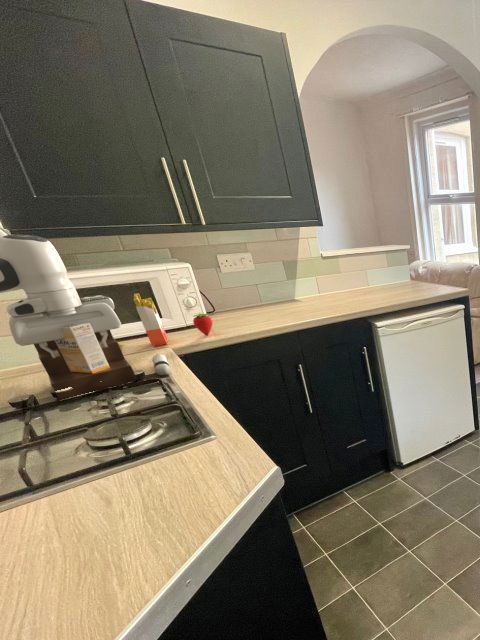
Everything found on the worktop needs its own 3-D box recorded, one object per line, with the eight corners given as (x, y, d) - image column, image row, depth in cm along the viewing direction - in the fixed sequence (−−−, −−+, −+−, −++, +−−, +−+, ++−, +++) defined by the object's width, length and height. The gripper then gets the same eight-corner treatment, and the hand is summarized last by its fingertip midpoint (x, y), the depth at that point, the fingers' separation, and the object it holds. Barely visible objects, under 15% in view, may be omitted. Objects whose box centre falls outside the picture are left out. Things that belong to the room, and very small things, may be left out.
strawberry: (214, 331, 165) (206, 306, 161) (218, 335, 160) (209, 309, 156) (196, 335, 162) (187, 309, 158) (200, 338, 156) (190, 312, 152)
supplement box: (69, 372, 114) (45, 326, 109) (89, 366, 118) (67, 321, 113) (91, 374, 112) (68, 327, 107) (111, 367, 116) (89, 321, 111)
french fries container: (169, 338, 159) (150, 291, 151) (168, 345, 150) (148, 295, 143) (154, 341, 156) (134, 293, 149) (152, 348, 148) (131, 297, 141)
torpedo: (175, 374, 123) (167, 353, 121) (155, 379, 121) (146, 357, 118) (169, 359, 136) (162, 340, 133) (151, 363, 133) (143, 344, 130)
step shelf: (60, 401, 109) (24, 335, 101) (55, 384, 120) (22, 323, 113) (138, 381, 119) (110, 320, 112) (126, 367, 131) (101, 310, 124)
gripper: (107, 292, 116) (128, 340, 122) (-2, 307, 102) (27, 360, 108) (111, 295, 112) (132, 344, 118) (-3, 311, 98) (27, 366, 104)
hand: (81, 352), depth 113 cm, fingers open, 8 cm apart
